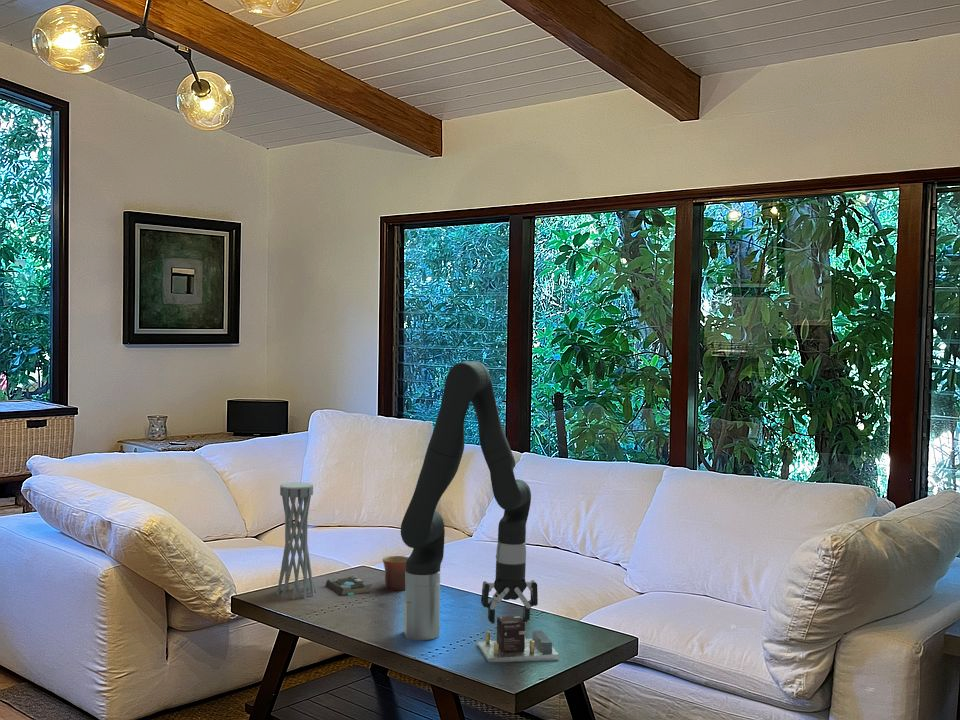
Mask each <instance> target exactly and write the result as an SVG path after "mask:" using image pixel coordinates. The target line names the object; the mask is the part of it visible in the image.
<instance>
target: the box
mask: <svg viewBox="0 0 960 720" xmlns="http://www.w3.org/2000/svg"><path fill="white" fill-rule="evenodd" d="M525 639H526V623H525V622H524V621H523V618H521V616H515V615H514V616H511V615H509V616H507V615H506V616H497V617H496V641H497V643H499V648H500V650H501V651H502V652H514V651H524V650H525Z"/></svg>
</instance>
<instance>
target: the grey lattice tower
mask: <svg viewBox="0 0 960 720" xmlns="http://www.w3.org/2000/svg"><path fill="white" fill-rule="evenodd" d="M279 485H280V486H279V496H281V498H282V504H283V511H284V515H285V516H284V549H283V555H282V561H281V566H280V574H279V578H278V585H277V588H276V592H275V596H279V595H280V593H281V596H280V598H281V599H284V598H286V594H287V591H288V590H289V589H290V588H289V587H290V586H289V583H290V582H289V581H290V577H291V574H292V571H293V574H294V583H293V589H292V590H293V591H292V596H291V599H292V600H295V599H296V593H297V590H300V583H299V576H300V575H299V574H300V569H301V573H302V577H303V579H302V580H303V585H302V586H303V588H302V589H303V590H302V594H303V596H302V597H303V599H305V600H306V599H307V598H308V591H310V595H311V597H315V595H316V593H317V591H316V587H315V583H314V579H313V573H312V567H311V565H312V564H311V558H310V553H309V547H308V516H309V511H310V503H311V497H312V496H313V495H314V483H310V482H299V481H298V482H286V483H280V484H279ZM296 499H297V501H298V502H297V503H298V507H296ZM290 503H291V504H290ZM290 505H291V507H290ZM293 518H294V519H293ZM299 542H300V543H299ZM293 543H294V545H293ZM290 554H291V555H290ZM296 554H297V556H298V558H297V564H296ZM302 554H303V555H302ZM289 556H291V557H289ZM289 559H290V560H289ZM300 567H301V568H300ZM283 580H284V585H283ZM282 586H283V587H282ZM281 591H282V592H281Z"/></svg>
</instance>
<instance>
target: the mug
mask: <svg viewBox="0 0 960 720" xmlns="http://www.w3.org/2000/svg"><path fill="white" fill-rule="evenodd" d="M408 558H409V557H408V556H403V555H390V556H386V557H383V558H382V564H383V567H384V578H383V580H384V581H383V582H384V583H383V585H384V589H385V590H387V591H392V592H403V591H405V567H406V561H407V559H408Z"/></svg>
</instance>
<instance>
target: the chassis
mask: <svg viewBox="0 0 960 720" xmlns="http://www.w3.org/2000/svg"><path fill="white" fill-rule="evenodd" d="M531 633H532V634H531V638H525V650H524V651H514V652H502V651H501V650H500V648H499V643H497V640H491V634H492V633H491V631H490V630H488V631H487V630H486V631H485V640H483V641H477V643H476V644H477V647H478V648H479V650H480V652H481V653H482V655H483V656H484V658H485V659H486V661H487V662H488V663H508V662H538V661H539V662H541V661H559V660H560V657H559V656H560V654H559V652H558V651H557V650H556V649H555V648H554V647H553V642H552V641H551V640H550V638H549V637H548V636H547V635H546V633H544V632H543V631H542V630H532V631H531Z"/></svg>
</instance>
